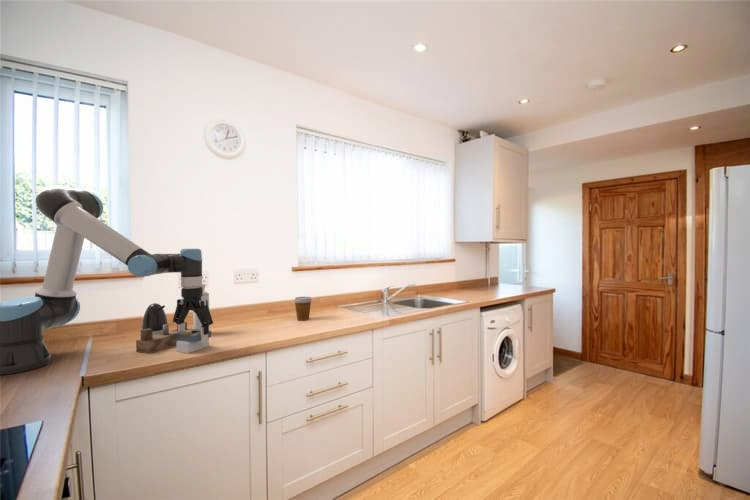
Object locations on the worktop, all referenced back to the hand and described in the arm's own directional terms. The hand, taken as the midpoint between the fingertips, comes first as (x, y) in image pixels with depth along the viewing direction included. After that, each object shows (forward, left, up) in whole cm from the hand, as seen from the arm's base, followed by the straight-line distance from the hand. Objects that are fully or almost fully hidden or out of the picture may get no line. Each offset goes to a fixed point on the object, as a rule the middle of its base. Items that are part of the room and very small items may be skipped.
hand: (193, 341), depth 136 cm
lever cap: (0, 0, +1) cm, 1 cm away
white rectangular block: (0, 0, -3) cm, 3 cm away
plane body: (0, +15, -3) cm, 15 cm away
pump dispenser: (+8, +32, -3) cm, 33 cm away
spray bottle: (+18, +15, -3) cm, 24 cm away
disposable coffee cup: (+59, -14, -3) cm, 61 cm away
